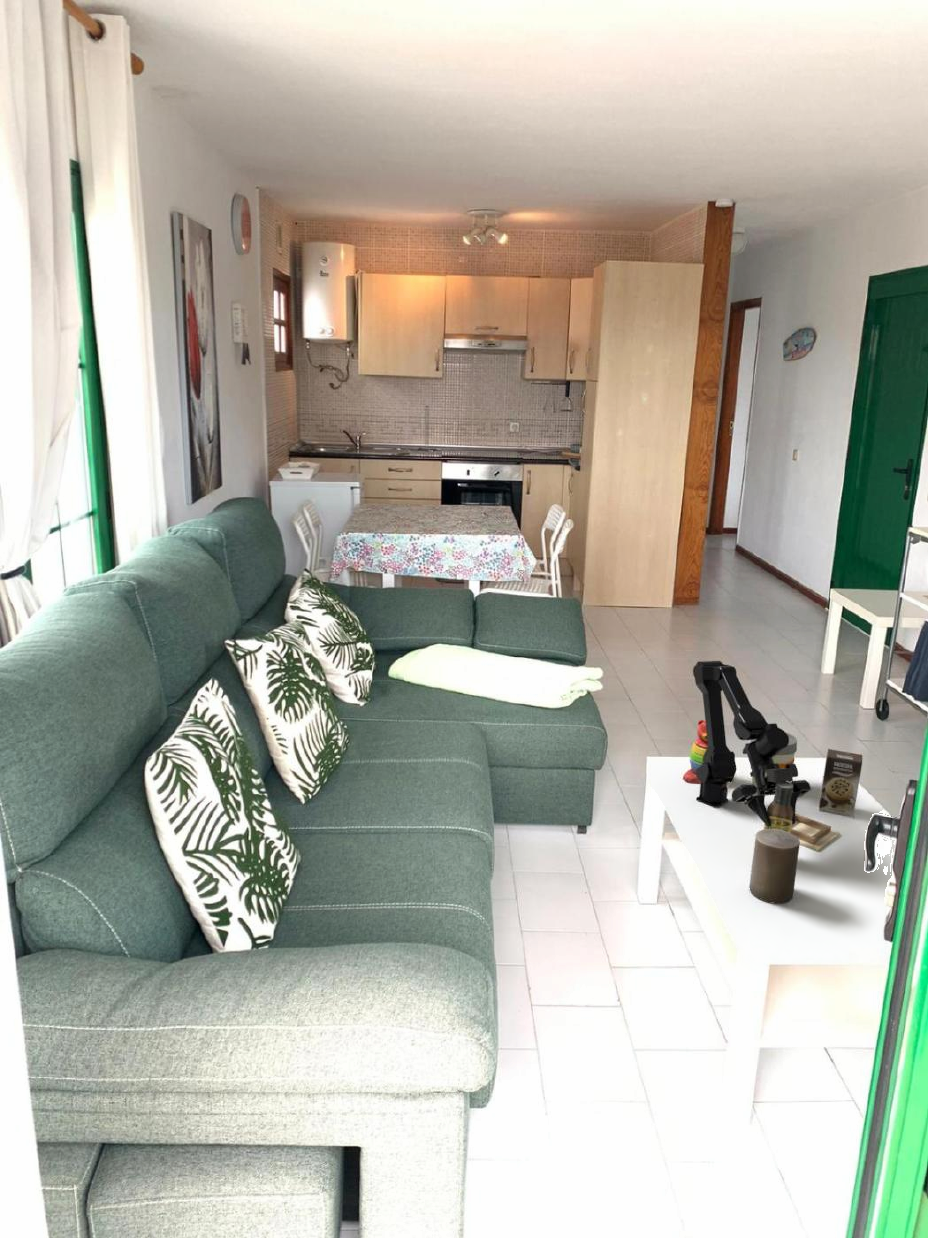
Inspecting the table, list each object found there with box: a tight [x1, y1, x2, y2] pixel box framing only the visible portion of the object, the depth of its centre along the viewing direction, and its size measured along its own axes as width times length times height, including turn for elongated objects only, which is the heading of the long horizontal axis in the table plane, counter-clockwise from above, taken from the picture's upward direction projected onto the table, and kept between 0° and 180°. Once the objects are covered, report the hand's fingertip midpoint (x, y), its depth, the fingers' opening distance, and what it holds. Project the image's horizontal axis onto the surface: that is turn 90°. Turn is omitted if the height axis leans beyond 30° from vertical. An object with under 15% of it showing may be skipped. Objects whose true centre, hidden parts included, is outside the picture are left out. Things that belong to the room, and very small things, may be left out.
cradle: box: [791, 813, 841, 852], centre depth 248 cm, size 14×13×2 cm
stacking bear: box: [682, 719, 708, 785], centre depth 277 cm, size 11×10×18 cm
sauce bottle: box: [763, 781, 793, 833], centre depth 233 cm, size 6×6×20 cm
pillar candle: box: [748, 828, 801, 904], centre depth 218 cm, size 10×10×15 cm
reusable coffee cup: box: [750, 731, 798, 791], centre depth 274 cm, size 12×12×15 cm
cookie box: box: [818, 748, 863, 818], centre depth 260 cm, size 9×6×16 cm
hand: (781, 825), depth 232 cm, fingers closed on sauce bottle, 6 cm apart
